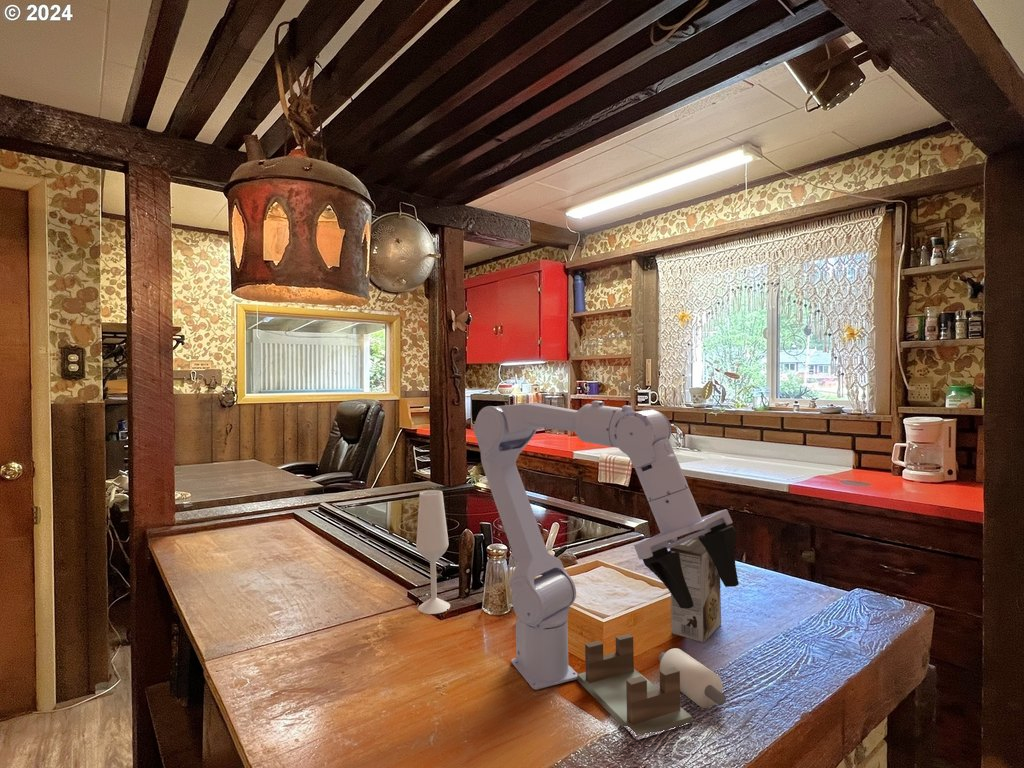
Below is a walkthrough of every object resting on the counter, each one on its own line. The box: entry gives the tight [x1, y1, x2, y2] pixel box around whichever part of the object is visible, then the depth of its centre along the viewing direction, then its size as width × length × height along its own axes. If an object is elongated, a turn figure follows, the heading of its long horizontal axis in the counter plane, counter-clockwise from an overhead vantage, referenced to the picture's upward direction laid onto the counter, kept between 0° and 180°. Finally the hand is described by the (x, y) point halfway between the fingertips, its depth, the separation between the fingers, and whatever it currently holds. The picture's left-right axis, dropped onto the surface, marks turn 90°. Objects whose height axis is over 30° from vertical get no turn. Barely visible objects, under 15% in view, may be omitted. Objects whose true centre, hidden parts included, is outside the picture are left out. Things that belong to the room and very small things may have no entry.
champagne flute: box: [415, 489, 451, 615], centre depth 117 cm, size 7×7×24 cm
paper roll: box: [658, 647, 727, 709], centre depth 84 cm, size 13×5×5 cm, turn 22°
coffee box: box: [669, 536, 722, 643], centre depth 105 cm, size 9×6×16 cm
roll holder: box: [576, 633, 693, 735], centre depth 83 cm, size 16×9×6 cm, turn 22°
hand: (710, 596), depth 72 cm, fingers open, 7 cm apart
